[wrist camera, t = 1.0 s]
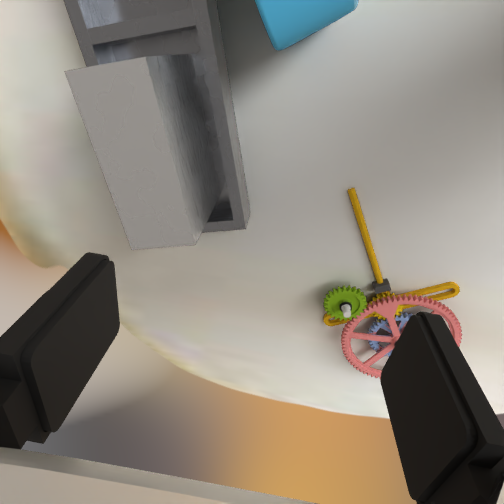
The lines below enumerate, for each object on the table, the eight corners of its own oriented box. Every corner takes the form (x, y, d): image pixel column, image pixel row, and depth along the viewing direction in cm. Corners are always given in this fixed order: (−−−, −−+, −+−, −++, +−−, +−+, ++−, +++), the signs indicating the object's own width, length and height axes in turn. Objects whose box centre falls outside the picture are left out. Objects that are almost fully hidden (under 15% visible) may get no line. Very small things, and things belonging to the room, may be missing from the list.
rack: (158, -357, 18) (17, -773, 9) (250, 211, 35) (234, 271, 25) (-12, -290, 20) (-277, -581, 11) (153, 220, 36) (106, 279, 27)
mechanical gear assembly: (358, 393, 48) (472, 368, 44) (364, 421, 44) (489, 396, 40) (276, 214, 35) (427, 155, 31) (275, 232, 31) (446, 169, 27)
